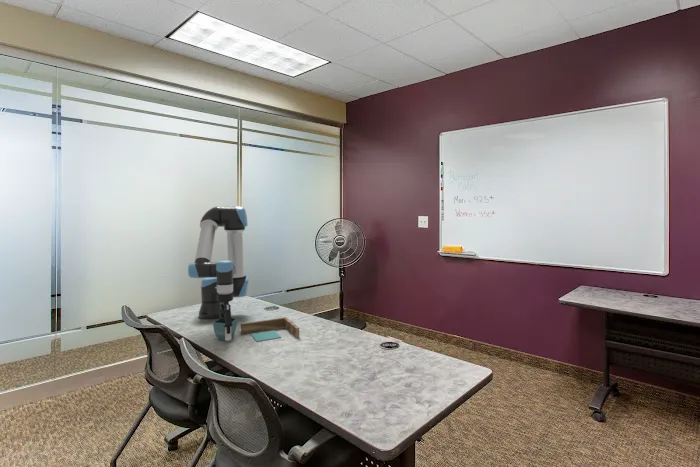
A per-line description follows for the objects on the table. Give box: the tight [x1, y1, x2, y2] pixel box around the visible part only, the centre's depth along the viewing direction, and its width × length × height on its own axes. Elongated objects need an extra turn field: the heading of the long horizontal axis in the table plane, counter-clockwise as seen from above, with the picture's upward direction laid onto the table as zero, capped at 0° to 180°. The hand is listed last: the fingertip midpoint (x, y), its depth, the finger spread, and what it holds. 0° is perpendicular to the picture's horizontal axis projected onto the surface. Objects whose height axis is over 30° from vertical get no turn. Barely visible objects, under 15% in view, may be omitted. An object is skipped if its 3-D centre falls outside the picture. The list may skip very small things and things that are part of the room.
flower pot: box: [212, 317, 238, 341], centre depth 178 cm, size 9×9×9 cm
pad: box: [250, 329, 282, 343], centre depth 182 cm, size 12×12×1 cm
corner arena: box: [240, 316, 300, 339], centre depth 183 cm, size 20×24×5 cm
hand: (225, 335), depth 178 cm, fingers open, 13 cm apart
